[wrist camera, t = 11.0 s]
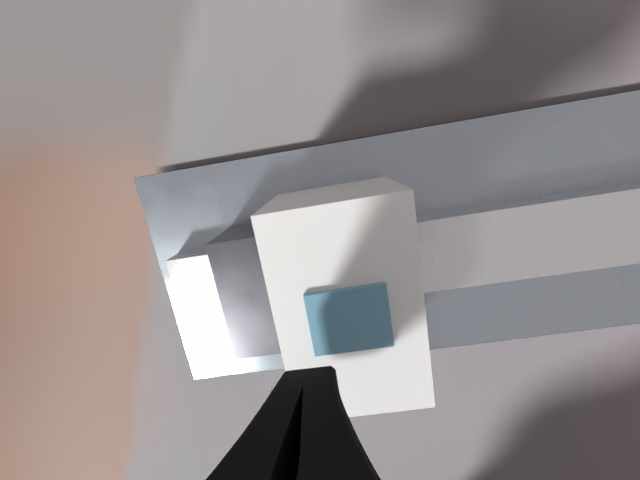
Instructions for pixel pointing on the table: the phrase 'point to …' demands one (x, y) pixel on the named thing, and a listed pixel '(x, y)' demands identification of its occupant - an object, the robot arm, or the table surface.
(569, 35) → the table surface
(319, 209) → the block
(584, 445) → the table surface
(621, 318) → the rail
